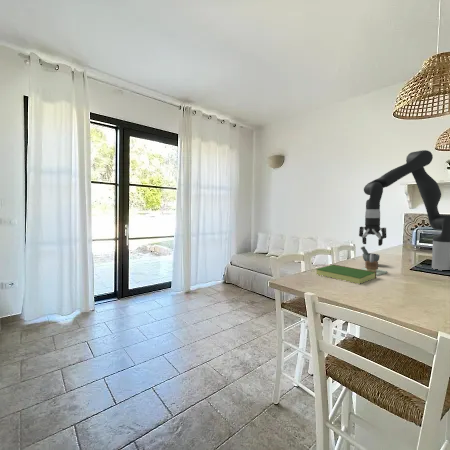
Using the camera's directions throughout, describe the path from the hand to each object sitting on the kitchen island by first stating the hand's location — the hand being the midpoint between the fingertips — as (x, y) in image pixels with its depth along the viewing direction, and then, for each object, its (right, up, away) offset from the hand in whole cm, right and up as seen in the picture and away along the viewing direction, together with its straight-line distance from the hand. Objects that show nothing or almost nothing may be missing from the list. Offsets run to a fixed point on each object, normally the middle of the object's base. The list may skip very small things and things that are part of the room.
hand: (372, 244), depth 146 cm
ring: (0, -14, +1) cm, 14 cm away
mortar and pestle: (+11, -15, +21) cm, 28 cm away
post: (0, -16, +1) cm, 16 cm away
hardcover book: (-20, -18, -7) cm, 27 cm away
